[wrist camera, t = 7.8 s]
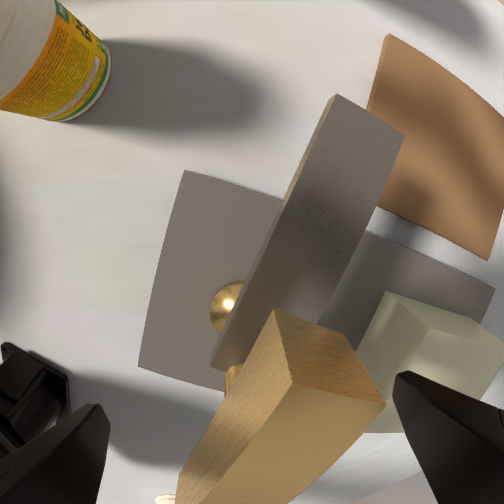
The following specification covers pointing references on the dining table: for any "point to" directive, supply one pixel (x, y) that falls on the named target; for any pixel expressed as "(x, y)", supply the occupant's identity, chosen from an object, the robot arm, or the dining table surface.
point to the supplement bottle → (48, 61)
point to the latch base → (238, 267)
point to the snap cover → (426, 352)
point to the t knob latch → (295, 328)
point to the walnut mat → (440, 149)
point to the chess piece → (165, 499)
